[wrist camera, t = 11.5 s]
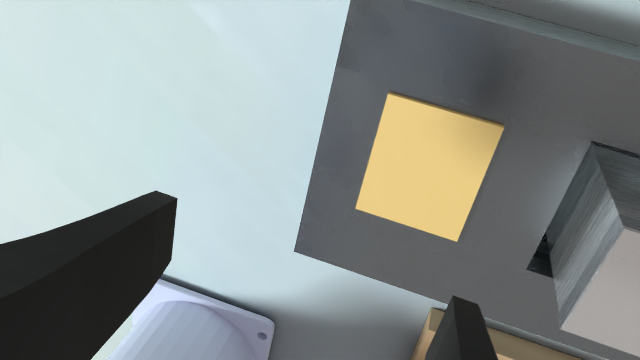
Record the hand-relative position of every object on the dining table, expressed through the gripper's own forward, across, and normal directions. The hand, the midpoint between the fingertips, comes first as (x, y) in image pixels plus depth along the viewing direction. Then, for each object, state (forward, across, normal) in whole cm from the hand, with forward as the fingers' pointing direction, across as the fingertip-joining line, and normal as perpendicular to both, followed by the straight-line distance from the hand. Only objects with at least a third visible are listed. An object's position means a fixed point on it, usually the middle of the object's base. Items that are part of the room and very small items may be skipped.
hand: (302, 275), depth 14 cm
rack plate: (+10, -7, 0) cm, 12 cm away
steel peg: (+10, -10, 0) cm, 14 cm away
